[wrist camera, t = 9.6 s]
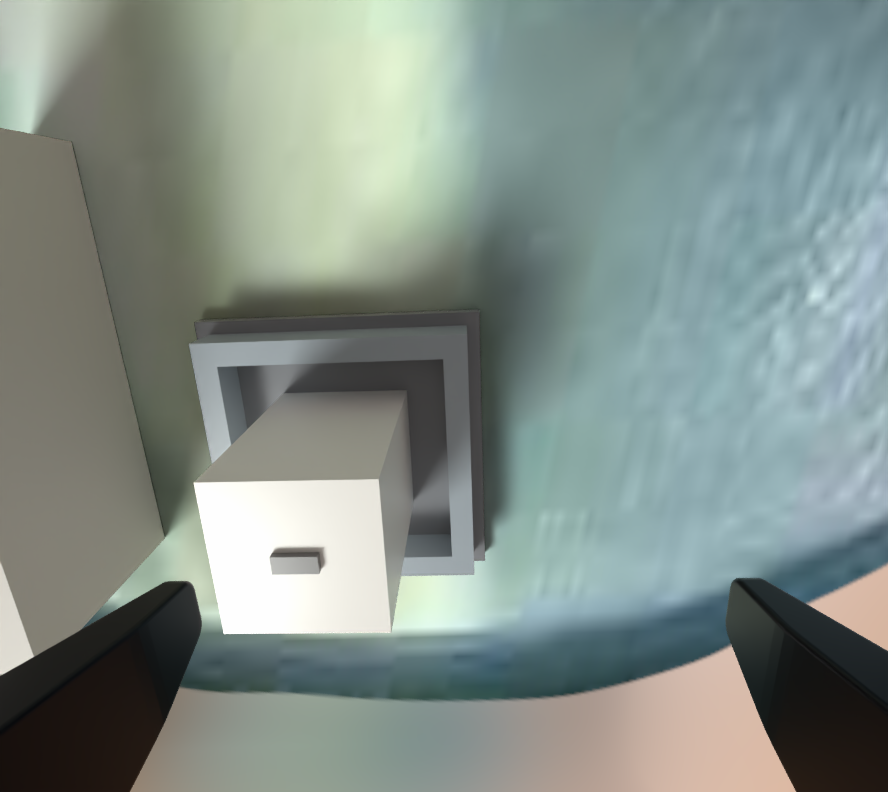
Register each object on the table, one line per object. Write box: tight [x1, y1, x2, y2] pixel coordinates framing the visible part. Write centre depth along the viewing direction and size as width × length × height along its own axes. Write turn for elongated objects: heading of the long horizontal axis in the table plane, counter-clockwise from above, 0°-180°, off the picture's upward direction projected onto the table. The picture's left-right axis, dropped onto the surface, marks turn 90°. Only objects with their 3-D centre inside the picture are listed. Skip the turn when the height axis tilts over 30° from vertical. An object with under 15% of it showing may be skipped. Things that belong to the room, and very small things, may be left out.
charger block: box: [194, 390, 414, 634], centre depth 17 cm, size 4×4×7 cm
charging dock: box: [189, 309, 485, 576], centre depth 20 cm, size 10×10×2 cm
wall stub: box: [0, 128, 165, 674], centre depth 17 cm, size 2×15×7 cm, turn 3°
